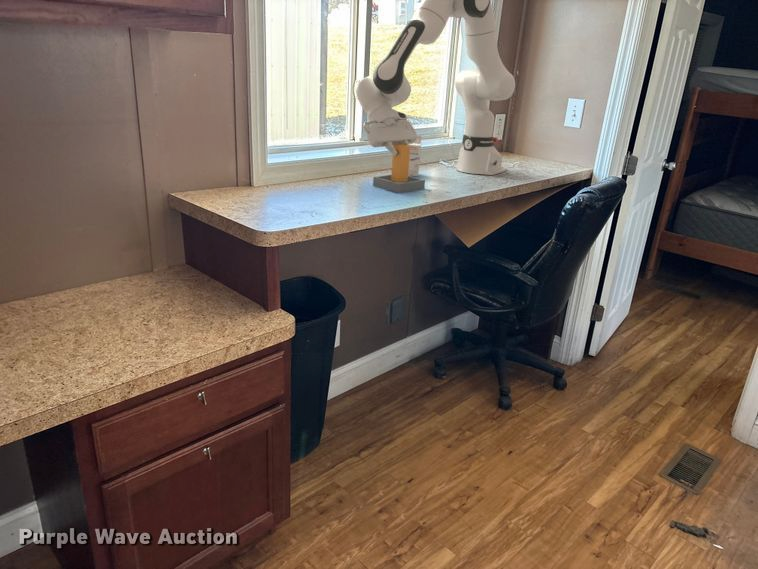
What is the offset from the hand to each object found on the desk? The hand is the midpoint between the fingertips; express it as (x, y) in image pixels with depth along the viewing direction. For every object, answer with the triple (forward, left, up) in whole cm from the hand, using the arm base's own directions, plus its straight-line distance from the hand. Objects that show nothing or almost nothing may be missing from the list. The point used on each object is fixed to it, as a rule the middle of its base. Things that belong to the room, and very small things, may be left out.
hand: (402, 154), depth 189 cm
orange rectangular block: (0, -1, -9) cm, 9 cm away
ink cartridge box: (-19, -15, -12) cm, 27 cm away
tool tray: (0, -1, -11) cm, 11 cm away
